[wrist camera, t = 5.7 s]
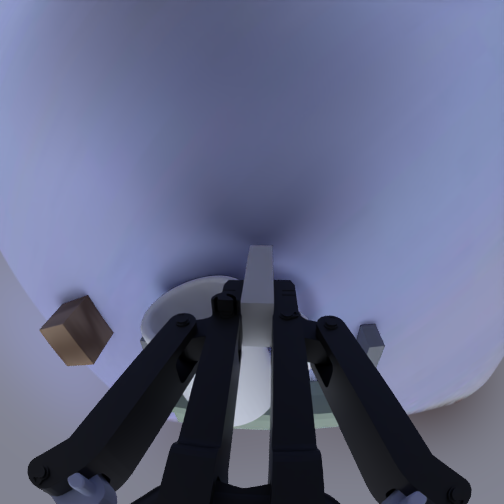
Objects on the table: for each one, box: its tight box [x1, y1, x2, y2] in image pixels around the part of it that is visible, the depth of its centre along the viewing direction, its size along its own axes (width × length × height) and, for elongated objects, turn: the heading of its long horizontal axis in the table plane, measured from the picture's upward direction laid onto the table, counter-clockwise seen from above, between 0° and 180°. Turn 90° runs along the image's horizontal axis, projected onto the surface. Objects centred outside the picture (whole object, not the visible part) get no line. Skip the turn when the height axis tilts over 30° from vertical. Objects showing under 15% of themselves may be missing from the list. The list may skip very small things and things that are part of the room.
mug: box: [141, 275, 311, 427], centre depth 20 cm, size 12×10×8 cm
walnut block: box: [40, 295, 113, 366], centre depth 23 cm, size 5×5×5 cm
